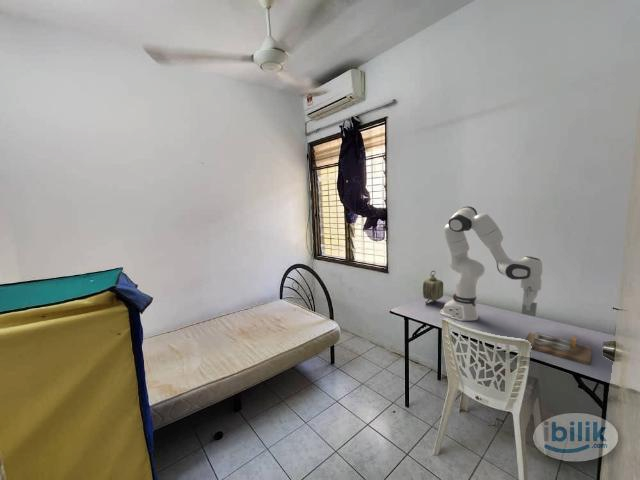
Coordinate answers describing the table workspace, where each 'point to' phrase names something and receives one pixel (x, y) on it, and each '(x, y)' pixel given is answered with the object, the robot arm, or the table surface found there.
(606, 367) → the table surface
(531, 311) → the module
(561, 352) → the rail base
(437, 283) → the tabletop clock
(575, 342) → the latch gate
